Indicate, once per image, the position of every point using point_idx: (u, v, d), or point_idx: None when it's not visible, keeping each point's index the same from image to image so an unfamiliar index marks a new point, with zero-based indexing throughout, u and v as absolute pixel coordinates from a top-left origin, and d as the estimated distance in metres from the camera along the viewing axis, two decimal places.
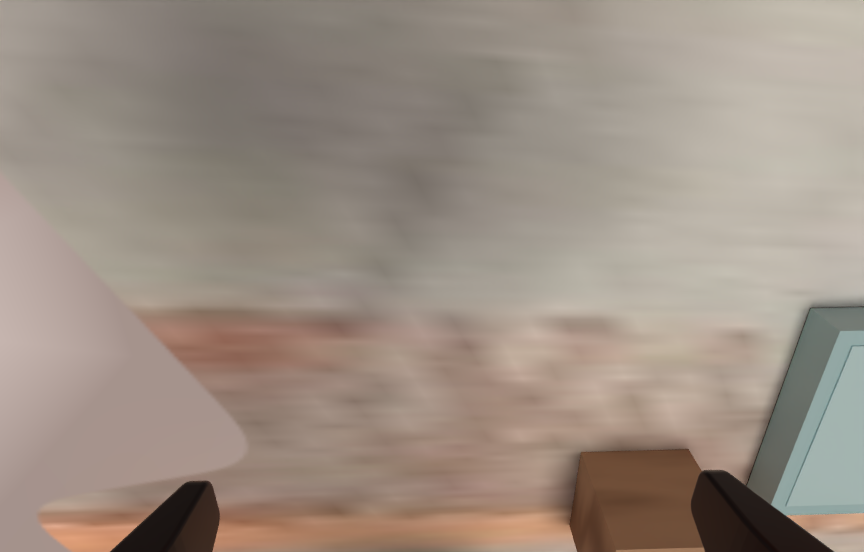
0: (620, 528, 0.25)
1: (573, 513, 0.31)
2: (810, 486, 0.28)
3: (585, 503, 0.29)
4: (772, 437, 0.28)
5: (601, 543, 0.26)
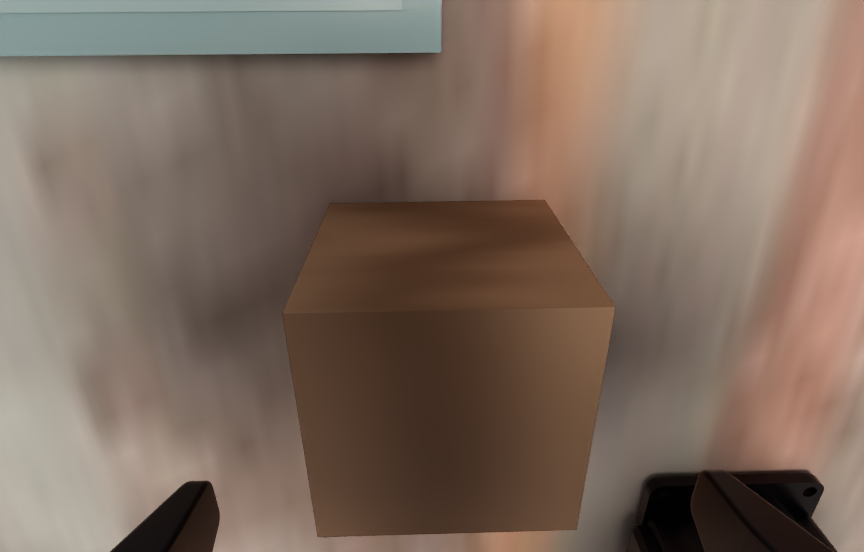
0: None
1: None
2: None
3: None
4: None
5: None
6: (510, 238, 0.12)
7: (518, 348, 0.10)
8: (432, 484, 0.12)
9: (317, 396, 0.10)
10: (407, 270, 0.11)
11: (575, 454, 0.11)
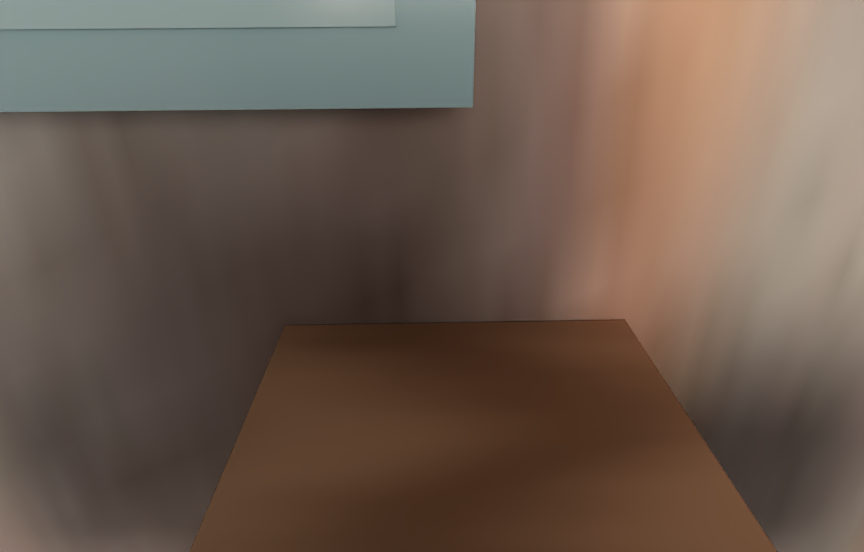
0: None
1: None
2: None
3: None
4: None
5: None
6: (592, 435, 0.07)
7: None
8: None
9: None
10: (405, 549, 0.05)
11: None
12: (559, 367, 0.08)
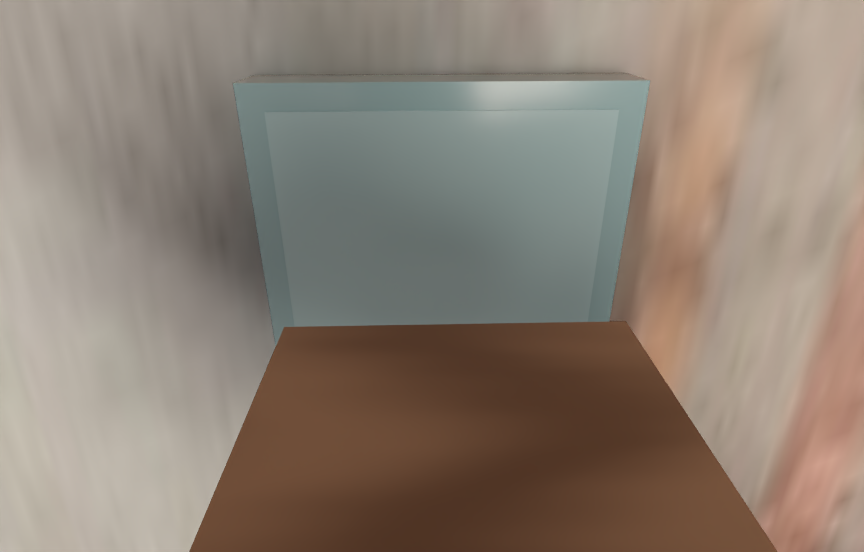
0: None
1: None
2: None
3: None
4: None
5: None
6: (592, 438, 0.07)
7: None
8: None
9: None
10: None
11: None
12: (559, 369, 0.08)
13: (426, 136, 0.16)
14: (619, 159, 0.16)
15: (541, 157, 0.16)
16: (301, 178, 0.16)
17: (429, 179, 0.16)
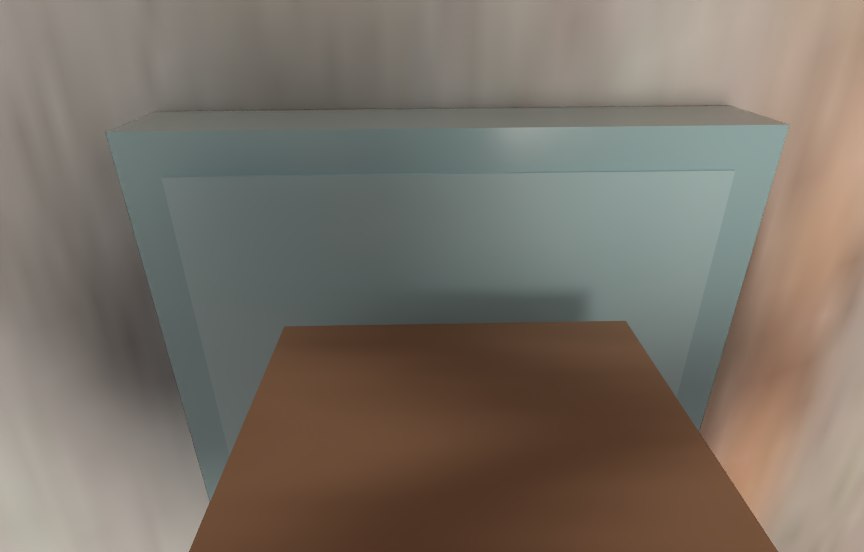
0: None
1: None
2: None
3: None
4: None
5: None
6: (592, 437, 0.07)
7: None
8: None
9: None
10: None
11: None
12: (559, 368, 0.08)
13: (425, 212, 0.10)
14: (727, 244, 0.10)
15: (606, 242, 0.10)
16: (229, 276, 0.10)
17: (429, 275, 0.11)
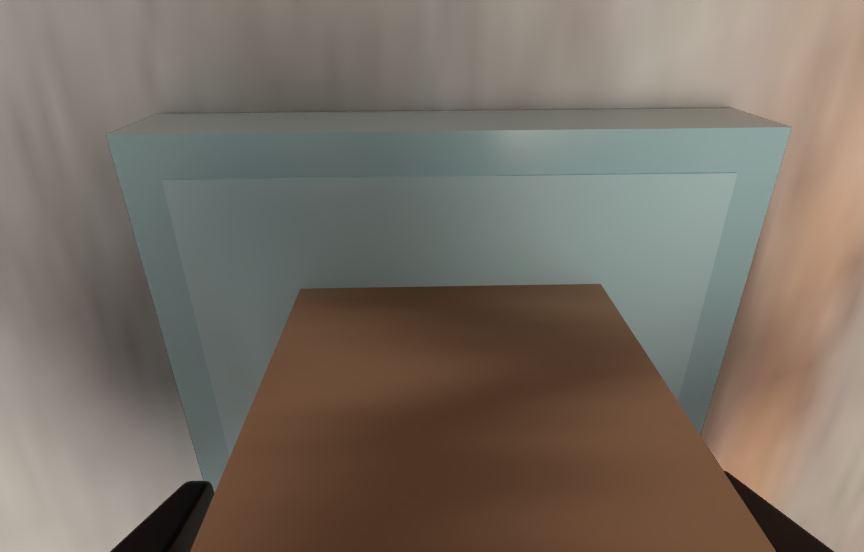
0: None
1: None
2: None
3: None
4: None
5: None
6: (564, 371, 0.08)
7: None
8: None
9: None
10: (407, 450, 0.07)
11: None
12: (540, 320, 0.09)
13: (426, 215, 0.10)
14: (729, 246, 0.10)
15: (607, 245, 0.10)
16: (230, 278, 0.10)
17: (430, 278, 0.10)
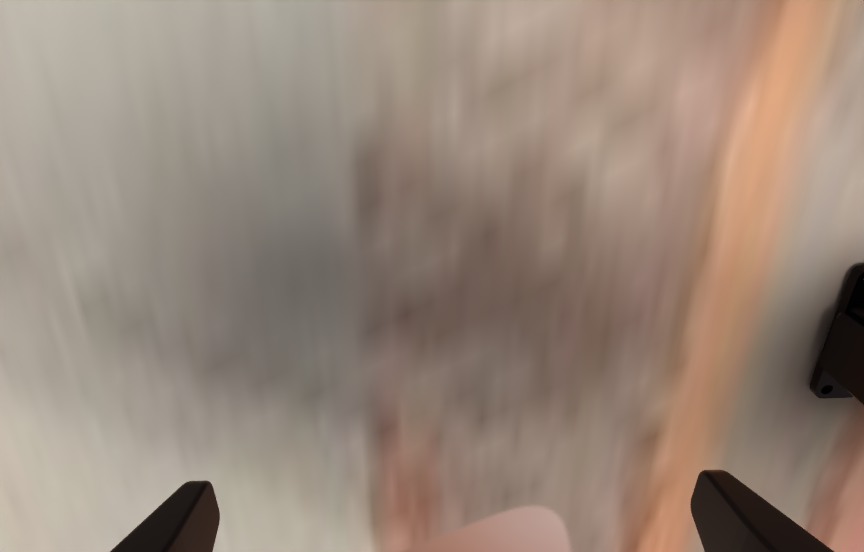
0: None
1: None
2: None
3: None
4: None
5: None
6: None
7: None
8: None
9: None
10: None
11: None
12: None
13: None
14: None
15: None
16: None
17: None
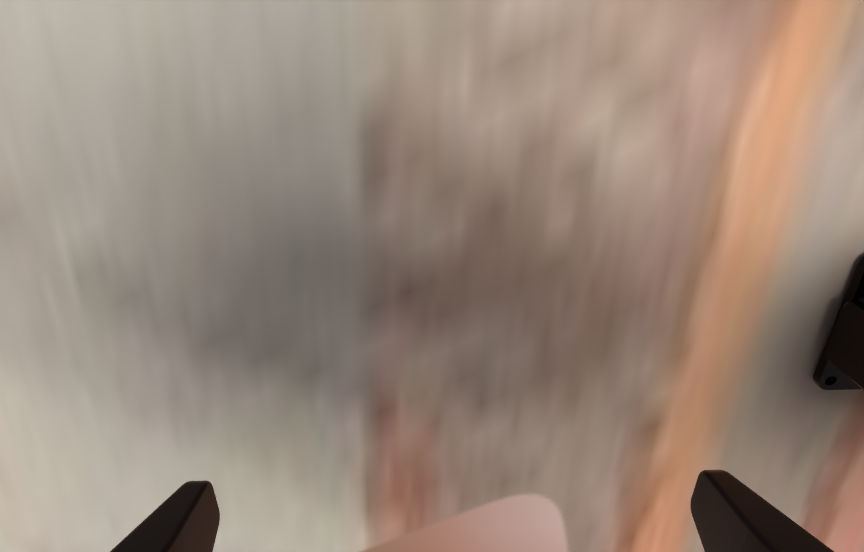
0: None
1: None
2: None
3: None
4: None
5: None
6: None
7: None
8: None
9: None
10: None
11: None
12: None
13: None
14: None
15: None
16: None
17: None
